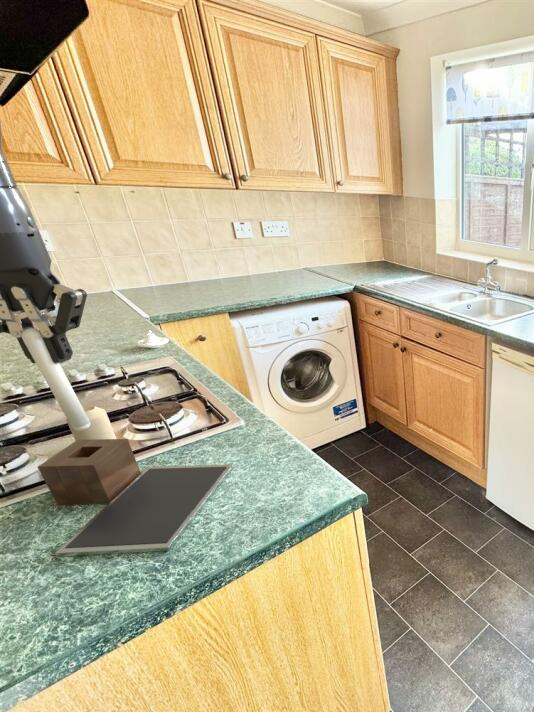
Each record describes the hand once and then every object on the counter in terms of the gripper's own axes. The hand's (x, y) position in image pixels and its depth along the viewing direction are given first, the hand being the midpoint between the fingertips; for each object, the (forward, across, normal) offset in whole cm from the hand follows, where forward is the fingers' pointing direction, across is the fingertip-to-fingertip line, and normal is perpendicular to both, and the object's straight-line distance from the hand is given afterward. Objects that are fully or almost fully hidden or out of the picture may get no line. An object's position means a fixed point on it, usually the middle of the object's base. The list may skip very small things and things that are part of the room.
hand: (52, 360), depth 58 cm
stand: (+27, -8, +7) cm, 29 cm away
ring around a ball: (+27, -40, +80) cm, 94 cm away
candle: (+28, -16, +19) cm, 37 cm away
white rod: (+11, 0, 0) cm, 11 cm away
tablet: (+28, +4, +2) cm, 28 cm away
